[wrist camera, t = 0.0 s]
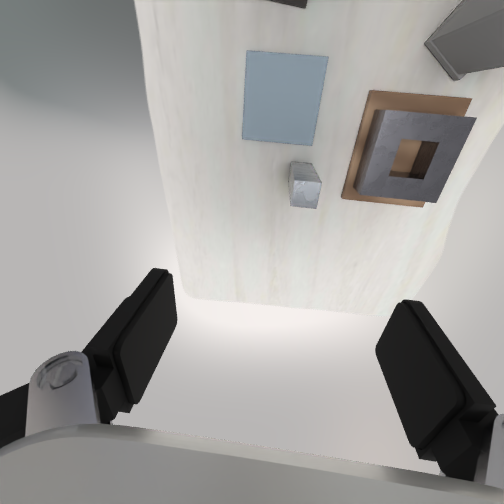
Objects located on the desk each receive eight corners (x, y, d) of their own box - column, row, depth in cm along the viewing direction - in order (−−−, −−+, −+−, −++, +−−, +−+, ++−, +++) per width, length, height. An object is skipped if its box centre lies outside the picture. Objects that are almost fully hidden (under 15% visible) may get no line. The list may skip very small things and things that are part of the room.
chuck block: (374, 109, 32) (386, 109, 28) (455, 116, 31) (476, 117, 28) (352, 186, 37) (360, 194, 33) (421, 193, 36) (436, 202, 33)
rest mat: (247, 51, 31) (246, 50, 30) (327, 57, 30) (328, 56, 30) (242, 138, 36) (242, 139, 35) (311, 145, 35) (312, 145, 35)
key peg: (291, 161, 37) (294, 180, 27) (311, 163, 37) (321, 183, 27) (288, 181, 38) (290, 205, 29) (307, 183, 38) (316, 208, 29)
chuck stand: (369, 90, 32) (372, 90, 31) (466, 98, 31) (472, 98, 30) (341, 196, 39) (342, 198, 38) (419, 205, 38) (422, 207, 37)
